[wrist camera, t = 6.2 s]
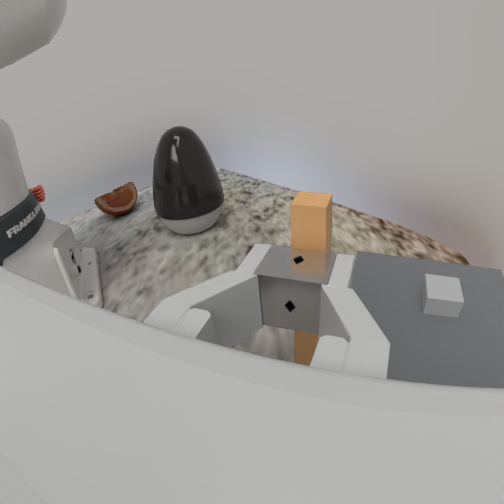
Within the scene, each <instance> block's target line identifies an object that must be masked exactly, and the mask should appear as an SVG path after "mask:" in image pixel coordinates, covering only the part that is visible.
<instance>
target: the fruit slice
mask: <svg viewBox="0 0 504 504" xmlns="http://www.w3.org/2000/svg"><path fill="white" fill-rule="evenodd" d="M136 201H137V190H136V187H135V186H134V184H133V183H132V182H129V183H127V184H125V185H124V186H121V187H119V188H117V189H115V190H113V192H111V193H107V194H105V195H103V196H100V197H98V198H96V199H95V204H96V205H97V207H98V208H99V209H100V210H101V211H102V212H104V213H106V214H110V215H123V214H125V213H127V212H129V211H130V210H131V209H132V208H133V207H134V205H135V203H136Z"/></svg>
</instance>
